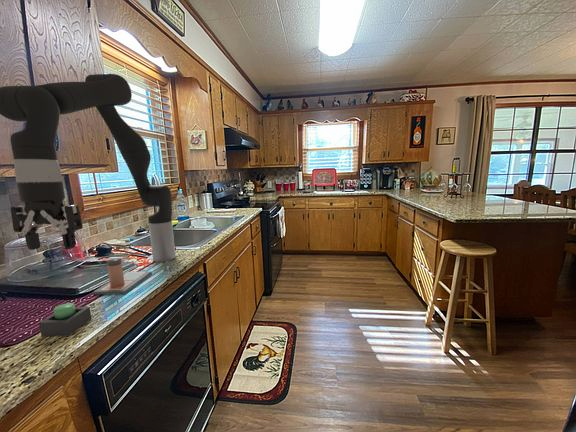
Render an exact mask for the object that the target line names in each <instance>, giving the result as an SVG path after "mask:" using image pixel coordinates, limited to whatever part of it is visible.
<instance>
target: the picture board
mask: <svg viewBox="0 0 576 432" xmlns="http://www.w3.org/2000/svg"><path fill="white" fill-rule="evenodd" d="M152 274H153V272H152V270H151V271H148V270H147V271H123V275H124V282H125V284H124V285H123V286H121V287H118V288H111V287H110V281H108V282H106V283H105V284H103V285H102V286H100V287H98V288H97V289H95V290H93V295H125V294H127V293H128V292H129V291H131V290H132V289H134V288H135V287H136V286H138V285H139V284H140V283H142V282H143V281H144V280H146V279H147V278H148V277H149V276H151V275H152Z"/></svg>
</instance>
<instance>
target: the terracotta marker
mask: <svg viewBox="0 0 576 432" xmlns="http://www.w3.org/2000/svg"><path fill="white" fill-rule="evenodd" d="M106 266H107V273H108V279H109V282H110V287H111V288H118V287H121V286H123V285H124V284H125V282H124V275H123V273H124V269H123V263H122V258H121V257H115V258H110V259H107V260H106Z"/></svg>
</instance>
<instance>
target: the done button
mask: <svg viewBox="0 0 576 432" xmlns="http://www.w3.org/2000/svg"><path fill="white" fill-rule="evenodd" d="M75 307H76V305H75V303H74V302H67V303H63V304H60V305H58V306H56V307H54V308H53V310H52V311H53V314H54V317H55V319H62V318H66V317H69V316H71V315H73V314H74V313H75V312H76V310H75Z"/></svg>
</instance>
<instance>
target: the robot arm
mask: <svg viewBox="0 0 576 432" xmlns="http://www.w3.org/2000/svg"><path fill="white" fill-rule="evenodd" d="M131 100H132V89H131V86H130V85H129V82H128V81H127V80H126V79H125V77H123V76H121V75H119V74H115V73H98V74H96V73H94V74H88V75H87V76H86V77H85V80H84V81H59V82H48V83H44V84H37V85H5V86H0V116H3V118H6V119H8V120H11V121H14V122H21V123H22V122H24V123H25V127H24V128H23V129H21V130H19V131H16V132H13V133H12V134H10V147H11V150H12V156H13V163H14V164H13V165H14V166H13V170H14V176H15V177H14V178H15V181H16V182H15V183H16V185H17V191H18V192H17V193H18V198H19V200H20V202H22V203H24V205H15V206H11V207H10V215H11V222H12V229H13V231H14V232H15V233H18V232H19V233H21V234H22V235H24V237H25V243H26V247H27V248H28V250H30V251H34V250H38V249H40V248H41V241H40V235H39V232H38V231H39V228H40V227H41V226H43V225H52V226H53V227H54V228H57V229H58V230H59V231H60V233H62V234H61V237H62V242H63V243H62V244H63V248H64V249H65V250H71V249H74V248H75V247H76V245H77V240H76V234H75V233H76V232H77V231H79V230H82V229H83V227H84V226H83V222H82V221H83V220H82V217H81V213H80V207H79V204H71V205H65V203H64V200H65V199H66V194H65V189H64V182H63V176H62V171H61V170H62V169H61V167H60V164H59V161H58V160H59V159H58V153H57V148H56V138H57V135H58V129H59V123H60V115H61V116H62V115H68V114H72V113H76V112H81V111H85V110H88V109H92V108H96V110H97V112H98V113H99V114H100V116H101V118H102V119H103V121H104V123H105V124H106V126H107V128H108V129H109V132H110V134H111V136H112V137H113V140H114V141H115V144H116V146H117V148H118V150H119V152H120V154H121V157H122V159H123V161H124V163H125V164H126V166H127V168H128V170H129V172H130V175H131V176H132V179H133V181H134V184H135V186H136V189H137V193H138V194H139V198H140V200H141V201H142V204H143V205H145V206H147V207H158V211H157V212H155V213H153V214H150V215H149V216H148V218H147V220H148V228H149V236H150V246H151V255H152V261H153V262H156V263H157V262H158V263H163V262H168V261H172V260H174V259H175V258H176V250H175V238H174V237H175V236H174V230H173V219H172V218H173V206H172V205H173V203H172V202H173V201H172V192H171V189H170V188H169V186H168V185H165V184H164V185H163V184H156V185H155V184H154V185H153V184H151V183H150V181H149V177H148V171H149V168H150V164H151V152H150V150H149V148H148V146H147V144H146V141H145V139H144V138H143V137H142V136H141V135H140V134H139V133H138V131H136V130H135V129H134V128H133V127H131V126H130V124H129V123H127V122H126V121H125V120H124V119H123V117H122V116H121V115H120V113H119V112H118V110H117V108H116V106H125V105H128V104H129V103H131Z"/></svg>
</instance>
